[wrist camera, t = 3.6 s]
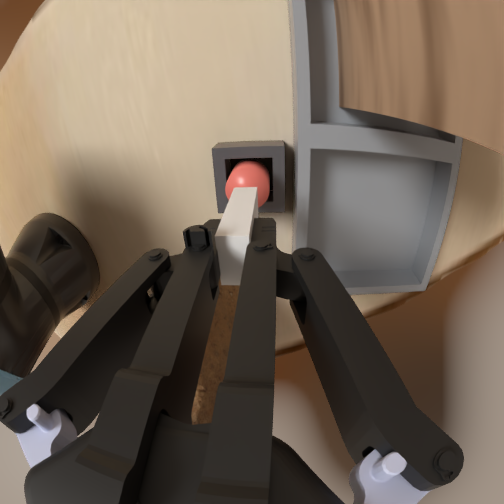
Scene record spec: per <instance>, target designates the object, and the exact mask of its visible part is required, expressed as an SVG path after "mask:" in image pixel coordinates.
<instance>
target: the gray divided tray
mask: <svg viewBox="0 0 504 504" xmlns="http://www.w3.org/2000/svg"><path fill="white" fill-rule="evenodd" d="M288 12H289V25H290V41H291V60H292V84H293V124H294V195H293V237H292V253H293V251H295V250H296V249H299V248H306V247H309V248H314V249H316V250H318V251H319V252H320V253H322V255H323V256H324V258H325V259H326V261H327V262H328V264H329V265H330V266H331V268H332V269H333V271H334V272H335V274H336V275H337V277H338V278H339V280H340V281H341V283H342V284H343V286H344V287H345V289H346V290H347V292H348V293H349V295H359V294H380V293H398V292H413V291H425V290H426V287H427V285H428V282H429V279H430V277H431V274H432V271H433V268H434V265H435V262H436V260H437V257H438V253H439V250H440V247H441V244H442V241H443V237H444V234H445V230H446V226H447V223H448V219H449V215H450V211H451V207H452V202H453V198H454V193H455V188H456V183H457V177H458V171H459V165H460V158H461V151H462V142H463V138H462V137H459V136H456V135H453V134H450V133H448V132H445V131H442V130H438V129H435V128H432V127H429V126H425V125H422V124H418V123H415V122H411V121H407V120H404V119H400V118H395V117H391V116H387V115H382V114H378V113H373V112H368V111H362V110H357V109H351V108H345V107H339V70H338V48H337V32H336V20H335V10H334V0H288Z"/></svg>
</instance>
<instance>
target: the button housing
mask: <svg viewBox="0 0 504 504" xmlns="http://www.w3.org/2000/svg"><path fill="white" fill-rule="evenodd" d="M212 156H213V167H214V177H215V187H216V197H217V206H218V213H224V211H225V209H226V206H227V204H228V202H229V200H228V198H227V196H226V192H225V186H226V182H227V180H228V178H229V176H230V174H231V165H230V159H238V158H272V159H273V191H269V196H268V198H267V200H266V202H265V203H264V204H263V205H262V206H260V207H259V208H258V212H285V146H284V143H283V141H241V142H223V143H218V144H216V145H215V146H214V147H213V148H212Z"/></svg>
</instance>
